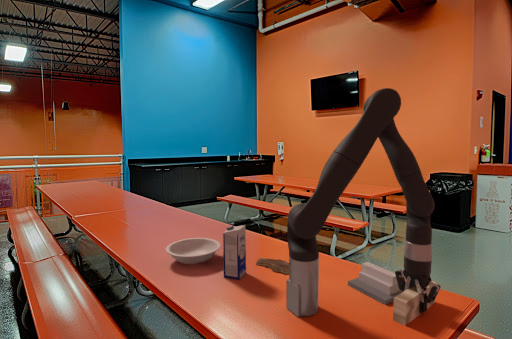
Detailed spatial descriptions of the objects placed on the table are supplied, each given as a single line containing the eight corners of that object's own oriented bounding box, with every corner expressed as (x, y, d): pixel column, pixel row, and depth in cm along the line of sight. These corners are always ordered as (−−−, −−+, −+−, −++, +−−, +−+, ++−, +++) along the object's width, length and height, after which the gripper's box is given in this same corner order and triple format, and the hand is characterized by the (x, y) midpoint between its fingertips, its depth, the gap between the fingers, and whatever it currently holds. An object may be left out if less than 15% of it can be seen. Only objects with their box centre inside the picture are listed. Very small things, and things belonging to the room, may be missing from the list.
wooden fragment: (249, 262, 136) (249, 260, 135) (266, 256, 143) (266, 253, 143) (297, 281, 118) (297, 279, 117) (313, 272, 125) (313, 270, 125)
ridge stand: (385, 304, 100) (386, 282, 99) (347, 284, 114) (348, 265, 113) (411, 293, 107) (412, 273, 106) (373, 276, 121) (374, 257, 120)
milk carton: (239, 280, 118) (238, 229, 116) (223, 277, 121) (222, 227, 119) (246, 272, 125) (245, 224, 123) (231, 270, 127) (230, 223, 125)
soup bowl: (195, 247, 155) (194, 234, 154) (232, 257, 141) (231, 243, 140) (154, 263, 135) (154, 248, 135) (192, 277, 122) (192, 261, 121)
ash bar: (405, 325, 89) (405, 302, 88) (393, 320, 92) (393, 297, 91) (435, 302, 101) (436, 282, 101) (423, 298, 104) (424, 278, 103)
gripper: (389, 250, 99) (387, 301, 101) (433, 266, 87) (430, 324, 89) (404, 246, 103) (402, 295, 105) (448, 260, 91) (445, 316, 92)
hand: (415, 308), depth 97 cm, fingers closed on ash bar, 4 cm apart
